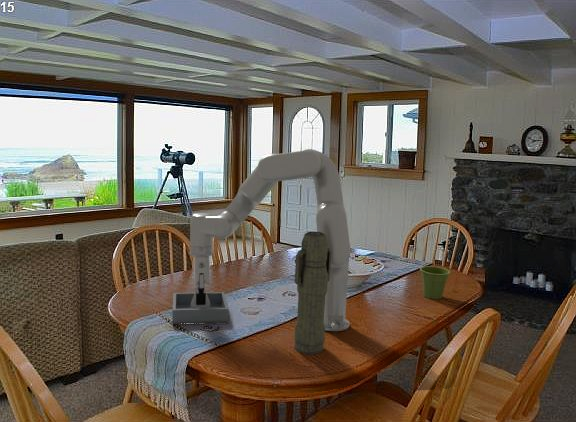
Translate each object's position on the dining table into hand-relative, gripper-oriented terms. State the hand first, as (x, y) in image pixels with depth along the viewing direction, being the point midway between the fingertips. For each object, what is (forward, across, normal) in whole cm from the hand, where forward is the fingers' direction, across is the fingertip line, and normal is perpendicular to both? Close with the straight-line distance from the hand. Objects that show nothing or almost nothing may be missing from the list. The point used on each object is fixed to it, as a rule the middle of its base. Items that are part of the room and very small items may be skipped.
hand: (200, 301), depth 179 cm
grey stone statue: (+5, -31, -31) cm, 44 cm away
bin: (+5, 0, 0) cm, 5 cm away
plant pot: (+5, +14, -94) cm, 95 cm away
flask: (+2, 0, 0) cm, 2 cm away
